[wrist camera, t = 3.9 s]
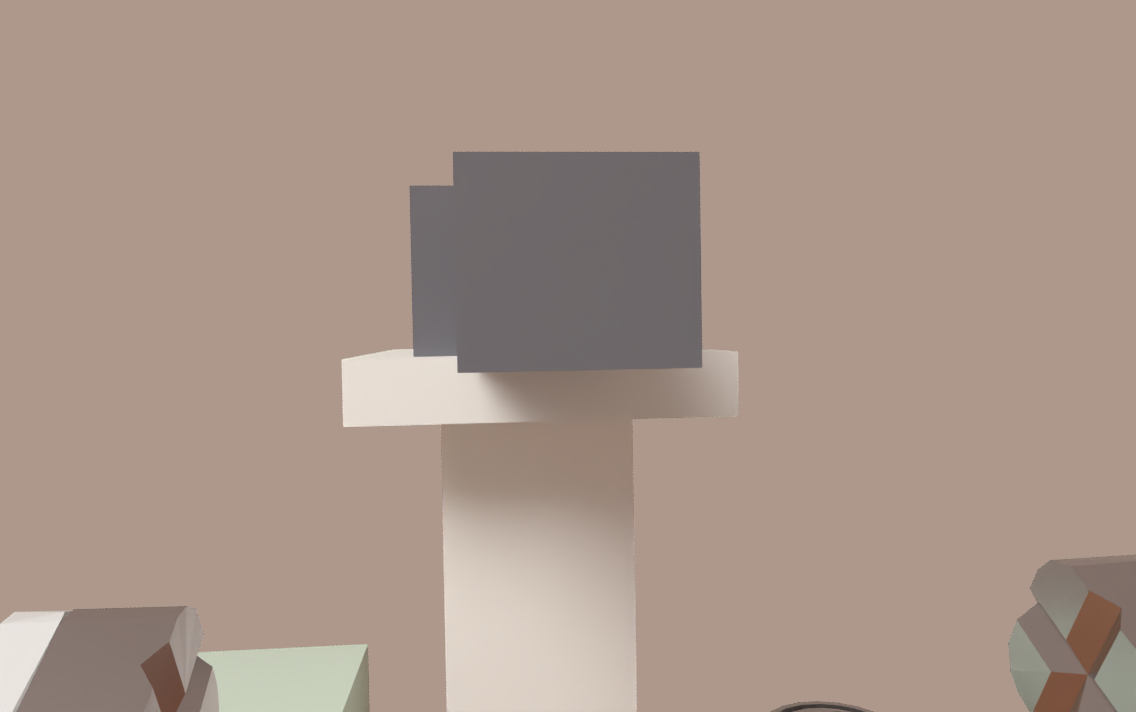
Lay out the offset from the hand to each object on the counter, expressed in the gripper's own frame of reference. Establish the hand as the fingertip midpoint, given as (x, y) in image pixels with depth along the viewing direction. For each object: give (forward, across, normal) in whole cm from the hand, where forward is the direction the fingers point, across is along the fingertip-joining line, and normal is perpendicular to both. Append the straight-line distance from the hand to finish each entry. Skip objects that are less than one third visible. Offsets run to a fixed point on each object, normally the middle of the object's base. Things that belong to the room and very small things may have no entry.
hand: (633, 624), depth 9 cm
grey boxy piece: (+13, 0, +5) cm, 14 cm away
